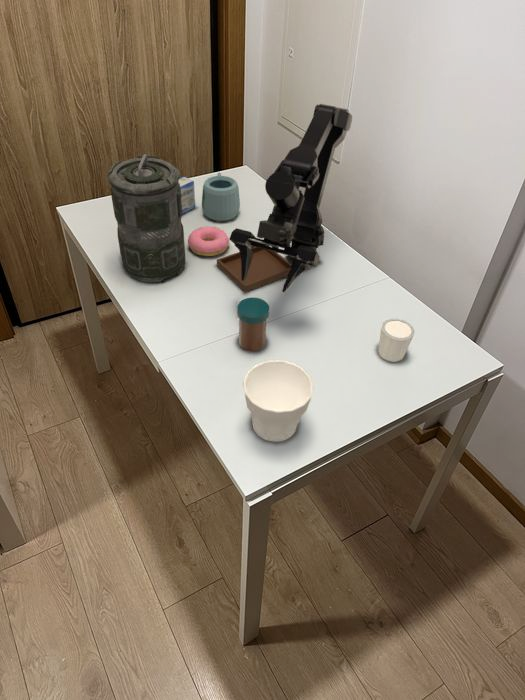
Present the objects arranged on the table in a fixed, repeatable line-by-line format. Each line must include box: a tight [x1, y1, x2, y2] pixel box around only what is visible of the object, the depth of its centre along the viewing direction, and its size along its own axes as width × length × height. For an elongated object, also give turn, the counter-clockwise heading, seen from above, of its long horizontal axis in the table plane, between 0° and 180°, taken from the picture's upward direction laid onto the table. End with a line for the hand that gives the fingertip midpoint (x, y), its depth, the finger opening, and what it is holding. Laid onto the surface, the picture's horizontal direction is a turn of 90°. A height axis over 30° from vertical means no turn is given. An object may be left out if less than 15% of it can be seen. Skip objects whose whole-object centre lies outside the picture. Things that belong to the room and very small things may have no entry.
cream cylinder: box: [377, 318, 415, 363], centre depth 114 cm, size 7×7×7 cm
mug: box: [201, 172, 241, 222], centre depth 154 cm, size 15×11×10 cm
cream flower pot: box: [242, 359, 315, 442], centre depth 97 cm, size 12×12×11 cm
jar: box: [238, 318, 268, 352], centre depth 114 cm, size 6×6×10 cm
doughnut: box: [187, 226, 230, 257], centre depth 142 cm, size 11×11×4 cm
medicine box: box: [178, 176, 196, 215], centre depth 153 cm, size 8×4×9 cm, turn 141°
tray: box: [216, 245, 292, 294], centre depth 136 cm, size 15×13×2 cm
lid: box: [236, 296, 270, 324], centre depth 111 cm, size 7×7×2 cm
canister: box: [107, 153, 186, 283], centre depth 126 cm, size 16×16×28 cm
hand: (262, 286), depth 112 cm, fingers open, 9 cm apart
